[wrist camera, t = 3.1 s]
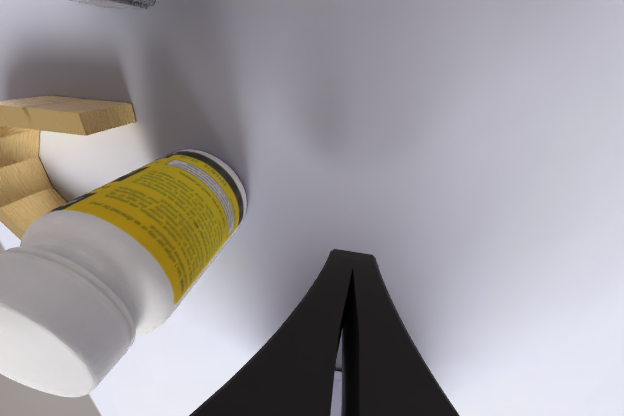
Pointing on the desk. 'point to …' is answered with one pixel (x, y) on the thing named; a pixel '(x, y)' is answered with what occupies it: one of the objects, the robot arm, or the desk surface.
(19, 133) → the wide wooden arch
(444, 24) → the desk surface
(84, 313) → the supplement bottle
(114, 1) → the small steel collar
